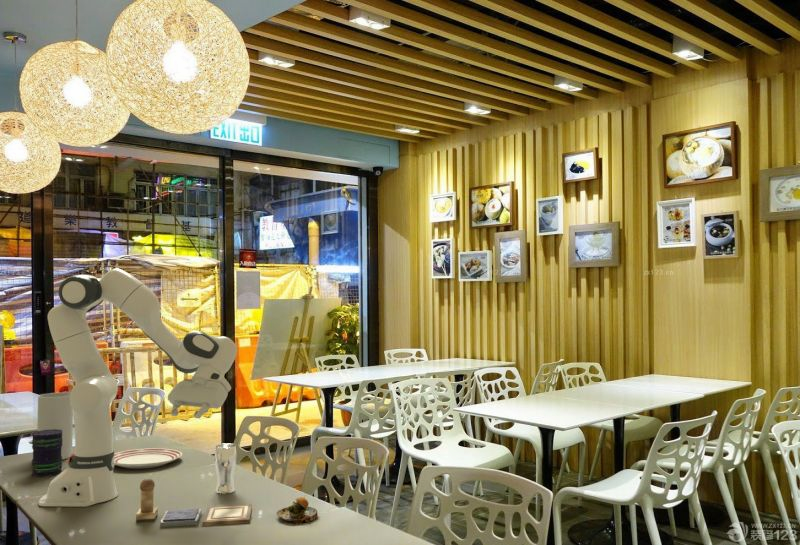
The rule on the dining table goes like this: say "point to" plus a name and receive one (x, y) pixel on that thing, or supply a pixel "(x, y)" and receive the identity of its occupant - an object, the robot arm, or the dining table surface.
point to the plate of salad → (298, 512)
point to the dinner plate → (145, 457)
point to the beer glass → (225, 467)
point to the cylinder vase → (57, 418)
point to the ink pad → (180, 518)
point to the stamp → (147, 502)
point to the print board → (227, 515)
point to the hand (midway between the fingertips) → (184, 416)
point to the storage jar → (47, 453)
